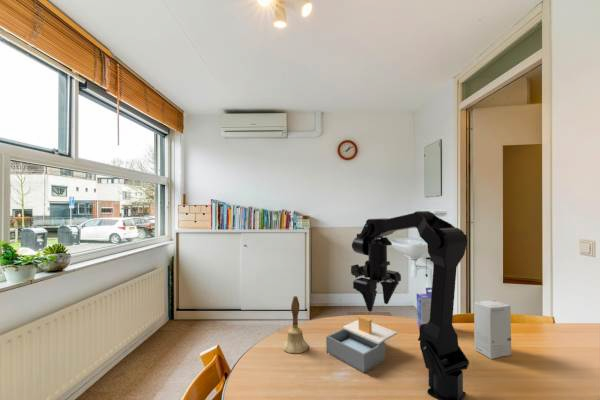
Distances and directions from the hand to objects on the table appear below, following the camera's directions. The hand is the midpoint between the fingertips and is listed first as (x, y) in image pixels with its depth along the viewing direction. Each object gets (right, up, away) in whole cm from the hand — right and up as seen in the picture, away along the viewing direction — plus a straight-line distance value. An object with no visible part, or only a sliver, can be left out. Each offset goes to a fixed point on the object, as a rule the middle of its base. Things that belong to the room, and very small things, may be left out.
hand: (378, 307), depth 91 cm
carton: (-8, -13, -5) cm, 16 cm away
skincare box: (+34, -12, -4) cm, 36 cm away
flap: (-3, -7, -1) cm, 8 cm away
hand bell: (-26, -13, 0) cm, 29 cm away
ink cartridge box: (+23, -13, +12) cm, 29 cm away
